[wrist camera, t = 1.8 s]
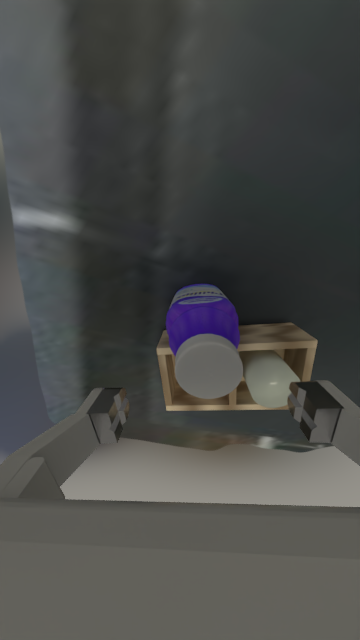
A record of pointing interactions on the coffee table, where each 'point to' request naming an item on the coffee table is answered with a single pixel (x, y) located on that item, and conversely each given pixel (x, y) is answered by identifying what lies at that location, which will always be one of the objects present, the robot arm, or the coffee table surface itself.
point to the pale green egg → (267, 377)
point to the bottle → (204, 341)
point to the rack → (279, 337)
